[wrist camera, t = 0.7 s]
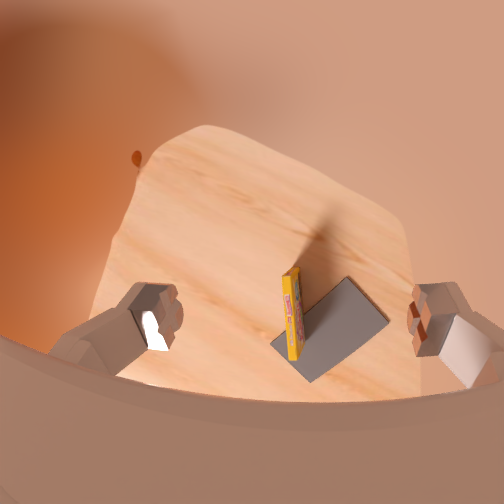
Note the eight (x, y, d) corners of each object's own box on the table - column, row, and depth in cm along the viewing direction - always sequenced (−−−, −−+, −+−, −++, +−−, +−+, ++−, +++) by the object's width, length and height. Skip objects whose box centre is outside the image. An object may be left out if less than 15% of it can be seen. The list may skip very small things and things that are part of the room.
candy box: (307, 343, 58) (297, 361, 51) (297, 342, 59) (286, 361, 52) (301, 266, 57) (291, 275, 49) (290, 267, 58) (278, 276, 50)
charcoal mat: (388, 322, 53) (389, 323, 52) (310, 382, 60) (310, 382, 60) (346, 276, 54) (346, 277, 54) (270, 343, 62) (270, 344, 62)
